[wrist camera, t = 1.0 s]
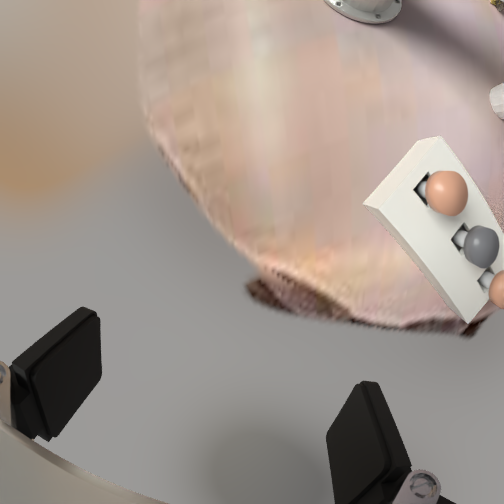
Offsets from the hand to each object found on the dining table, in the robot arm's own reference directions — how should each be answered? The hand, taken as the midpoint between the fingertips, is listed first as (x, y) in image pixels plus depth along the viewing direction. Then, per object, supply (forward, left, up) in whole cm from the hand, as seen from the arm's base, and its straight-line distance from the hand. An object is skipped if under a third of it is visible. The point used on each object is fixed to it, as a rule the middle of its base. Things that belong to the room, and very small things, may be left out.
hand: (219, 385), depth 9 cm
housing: (-17, +18, -28) cm, 38 cm away
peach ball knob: (-17, +10, -24) cm, 31 cm away
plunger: (-17, +26, -24) cm, 40 cm away
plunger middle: (-17, +18, -24) cm, 35 cm away
